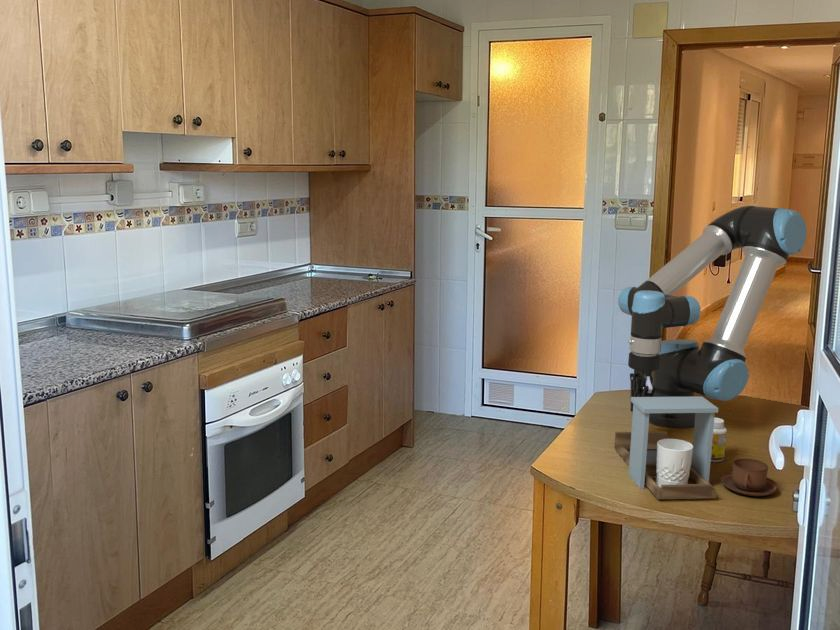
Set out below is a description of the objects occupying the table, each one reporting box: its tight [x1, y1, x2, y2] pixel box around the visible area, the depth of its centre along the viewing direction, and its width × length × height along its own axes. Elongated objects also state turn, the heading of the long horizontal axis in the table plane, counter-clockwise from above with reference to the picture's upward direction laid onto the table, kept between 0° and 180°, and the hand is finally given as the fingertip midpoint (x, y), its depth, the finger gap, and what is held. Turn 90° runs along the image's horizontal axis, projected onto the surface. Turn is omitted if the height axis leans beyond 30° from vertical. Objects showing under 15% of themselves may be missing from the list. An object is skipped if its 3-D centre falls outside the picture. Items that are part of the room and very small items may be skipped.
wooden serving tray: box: [614, 430, 717, 500], centre depth 198 cm, size 31×13×4 cm, turn 4°
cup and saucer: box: [720, 457, 778, 497], centre depth 190 cm, size 12×12×6 cm
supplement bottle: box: [711, 417, 728, 463], centre depth 208 cm, size 6×6×10 cm
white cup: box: [655, 438, 693, 488], centre depth 190 cm, size 8×8×10 cm
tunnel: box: [628, 395, 719, 490], centre depth 192 cm, size 9×17×19 cm, turn 94°
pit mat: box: [627, 449, 657, 464], centre depth 209 cm, size 10×10×1 cm
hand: (637, 442), depth 214 cm, fingers closed
